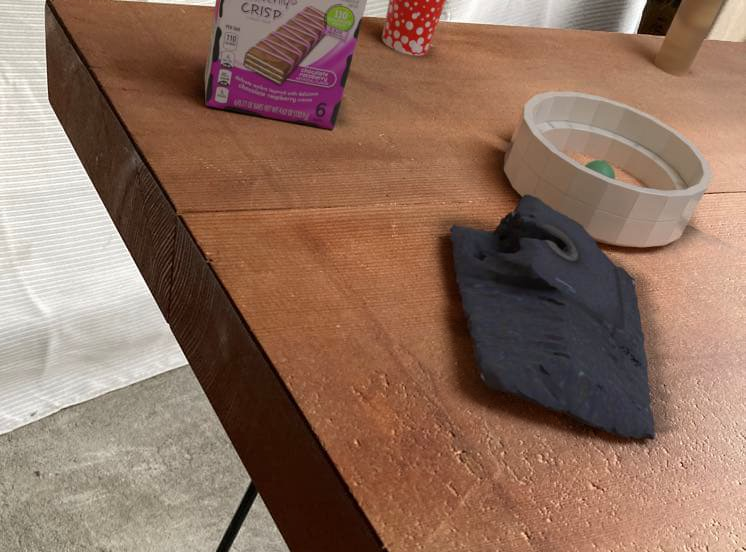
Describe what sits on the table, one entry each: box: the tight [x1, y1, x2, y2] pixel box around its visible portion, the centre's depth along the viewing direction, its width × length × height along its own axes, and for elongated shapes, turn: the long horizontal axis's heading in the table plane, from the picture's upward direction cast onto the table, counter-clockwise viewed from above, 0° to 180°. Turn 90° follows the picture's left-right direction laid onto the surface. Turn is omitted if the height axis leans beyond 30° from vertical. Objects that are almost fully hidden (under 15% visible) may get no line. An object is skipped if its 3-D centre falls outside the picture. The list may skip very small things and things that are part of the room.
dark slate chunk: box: [449, 194, 656, 441], centre depth 68 cm, size 15×22×5 cm
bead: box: [584, 159, 616, 180], centre depth 84 cm, size 3×3×3 cm
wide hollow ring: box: [503, 90, 713, 248], centre depth 84 cm, size 17×17×6 cm
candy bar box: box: [204, 0, 368, 130], centre depth 77 cm, size 11×5×16 cm, turn 97°
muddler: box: [653, 0, 724, 78], centre depth 107 cm, size 4×4×13 cm
